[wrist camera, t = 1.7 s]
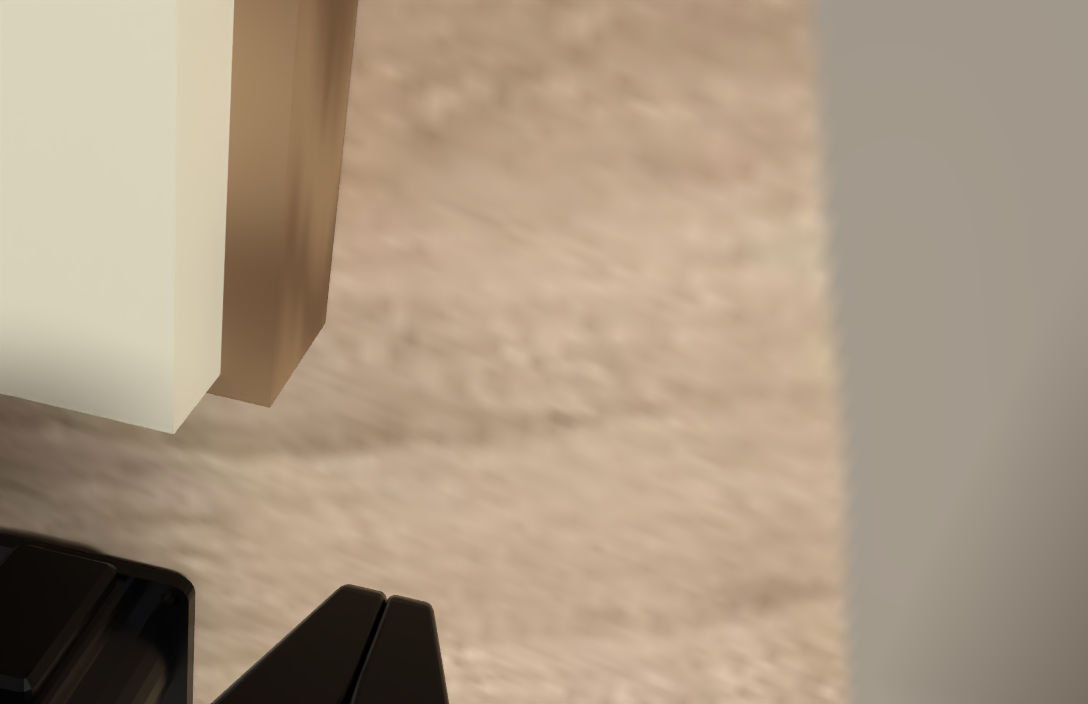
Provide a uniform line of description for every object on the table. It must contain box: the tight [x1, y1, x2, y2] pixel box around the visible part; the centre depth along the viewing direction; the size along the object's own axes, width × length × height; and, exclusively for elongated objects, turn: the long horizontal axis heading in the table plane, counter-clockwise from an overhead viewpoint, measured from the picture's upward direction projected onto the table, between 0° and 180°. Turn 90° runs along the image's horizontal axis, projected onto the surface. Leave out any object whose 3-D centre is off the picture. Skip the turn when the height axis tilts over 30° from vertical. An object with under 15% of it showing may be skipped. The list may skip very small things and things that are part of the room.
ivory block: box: [0, 0, 234, 434], centre depth 15 cm, size 8×6×2 cm
